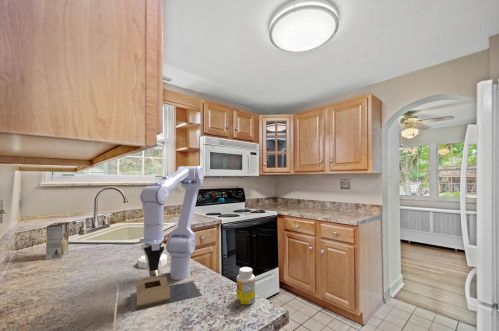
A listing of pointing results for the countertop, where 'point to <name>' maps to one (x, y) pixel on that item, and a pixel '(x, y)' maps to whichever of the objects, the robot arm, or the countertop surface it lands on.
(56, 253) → the coffee box
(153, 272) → the steel pin
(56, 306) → the countertop surface
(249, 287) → the supplement bottle
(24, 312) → the countertop surface
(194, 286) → the clevis base
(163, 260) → the mooncake
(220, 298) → the countertop surface
